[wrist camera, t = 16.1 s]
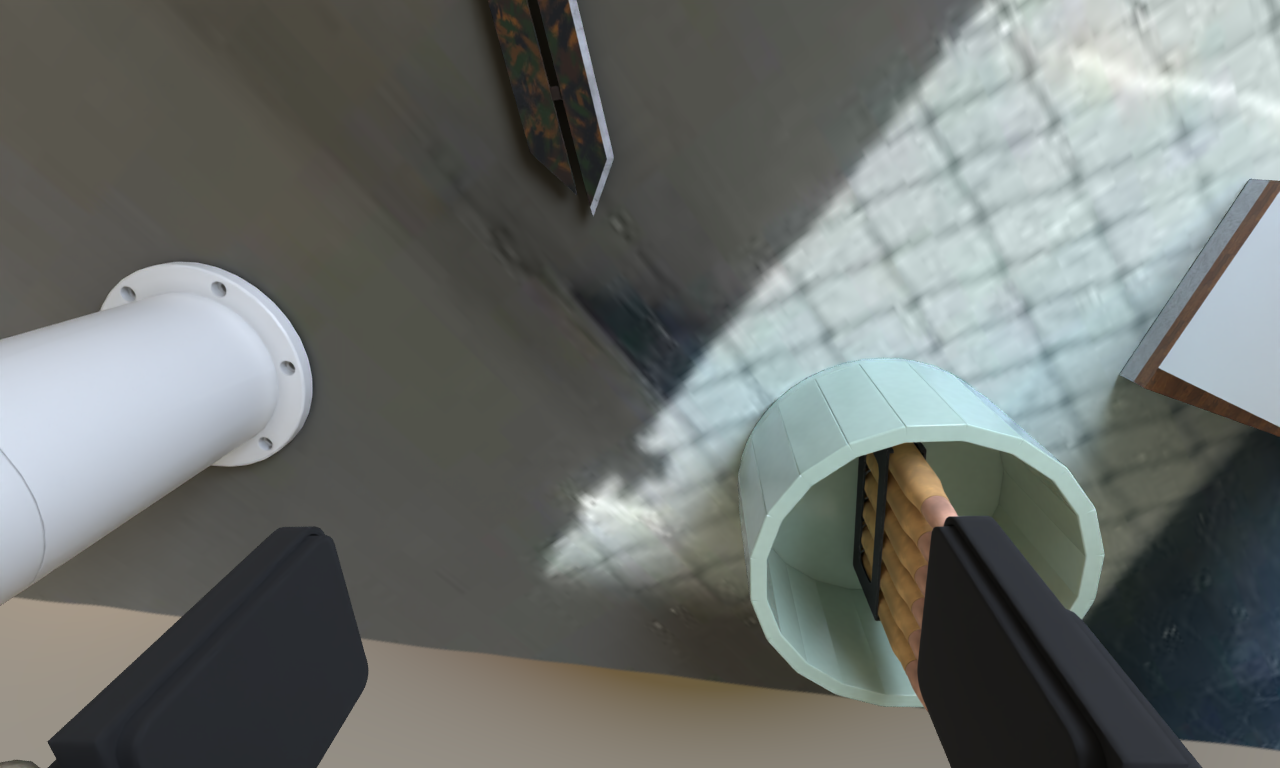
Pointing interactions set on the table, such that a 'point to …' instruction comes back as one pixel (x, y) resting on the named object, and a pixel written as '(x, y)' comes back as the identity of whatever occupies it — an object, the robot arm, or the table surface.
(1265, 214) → the architectural tower model
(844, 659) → the pale green bowl
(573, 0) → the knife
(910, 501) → the ammunition clip
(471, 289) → the table surface
